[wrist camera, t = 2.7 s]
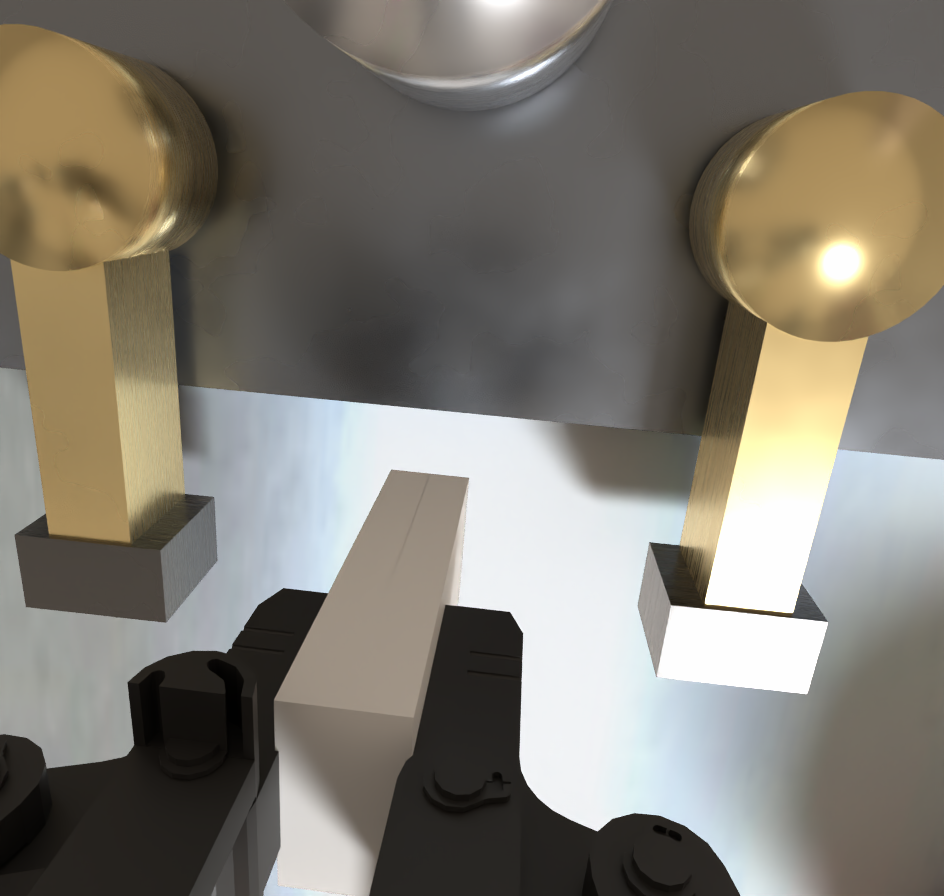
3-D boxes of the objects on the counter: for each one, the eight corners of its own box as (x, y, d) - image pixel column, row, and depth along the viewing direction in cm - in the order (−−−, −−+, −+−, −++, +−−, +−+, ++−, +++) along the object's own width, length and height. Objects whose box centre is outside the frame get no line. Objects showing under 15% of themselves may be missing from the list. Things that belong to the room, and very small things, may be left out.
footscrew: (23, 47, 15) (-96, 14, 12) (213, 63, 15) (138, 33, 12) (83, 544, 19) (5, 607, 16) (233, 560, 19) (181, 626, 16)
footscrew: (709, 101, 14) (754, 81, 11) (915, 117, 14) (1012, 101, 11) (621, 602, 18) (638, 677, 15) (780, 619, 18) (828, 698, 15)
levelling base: (7, 345, 19) (-293, 437, 12) (-93, -332, 15) (-684, -824, 7) (908, 432, 18) (1148, 586, 11) (1123, -262, 14) (1774, -750, 7)
